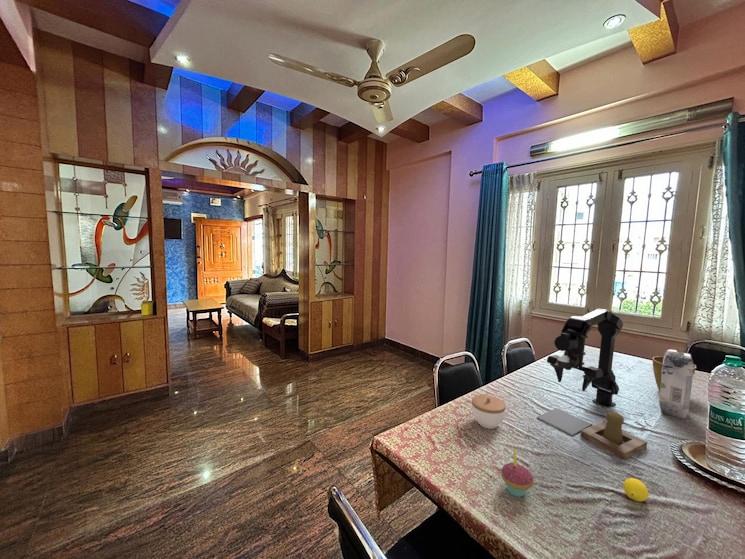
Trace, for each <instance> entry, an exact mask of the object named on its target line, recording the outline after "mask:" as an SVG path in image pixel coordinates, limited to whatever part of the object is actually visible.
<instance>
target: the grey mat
mask: <svg viewBox="0 0 745 559" xmlns="http://www.w3.org/2000/svg"><path fill="white" fill-rule="evenodd" d="M536 419H538V420H540V421H542V422H543V423H546V424H548V425H550V426H551V427H553V428H556V429H558V430H559V431H561V432H564V433H565V434H567V435H569V436H572V437H574V436H575V435H578V434H579V433H581V430H583V429H586V428H588V427H591V426H593V423H591V422H588V421H586V420H584V419H583V418H580V417H577V416H575V415H573V414H570V413H568V412H566V411H564V410H561V409H559V408H558V407H555V408H553V409H551V410H549V411H546V412H544V413H542V414H540V415H538V416H536Z"/></svg>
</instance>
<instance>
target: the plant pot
mask: <svg viewBox="0 0 745 559" xmlns="http://www.w3.org/2000/svg"><path fill="white" fill-rule="evenodd" d="M663 359H664V356H653V357H652V370H653V375H654V380H655V383H656V386H657V390H658V392H659V393H660V386H661V376H662V366H663ZM696 369H697V365H696V364H694V363H693V376H694V375H695V372H696Z"/></svg>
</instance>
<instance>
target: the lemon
mask: <svg viewBox="0 0 745 559" xmlns="http://www.w3.org/2000/svg"><path fill="white" fill-rule="evenodd" d="M622 488H623V491H624V493H625V494H626V495H627V497H628V498H629V499H632V500H634V501H635V502H643V501H646V500H647V499H648V497H649V496H650V495H649V490H648V488H647V486H646V484H645V483H644V482H642V481H640V480H639V479H637V478H634V477H630V478H626V480H624V481H623V485H622Z"/></svg>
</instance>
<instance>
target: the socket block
mask: <svg viewBox="0 0 745 559" xmlns="http://www.w3.org/2000/svg"><path fill="white" fill-rule="evenodd" d="M606 423H607V421H606V422H605V421H601V422H598V423H596V424H592V426H590V427H588V428H586V429H583V430H581V432H580V435H579V436H580V438H582V439H584V440H586V441H588V442H589V443H592V444H593V445H595V446H596V447H599V448H601V449H602V450H604V451H606V452H608V453H609V454H612V456H613V455H614V456H615V457H617V458H618V459H621V460H623V461H625V460H628V459H629V458H631V457H633V456H636V455H637V454H639V453H641V452H643V451H645V450H647V447H648V441H646V440H644V439H642V438H639V437H637V436H635V435H633V434H632V433H629V432H627V431H625V430H623V429H622V439H623V444H622V445H617V444H615V443H613V442H611V441H610V440H608V439H606V438H604V437H603V434H604V430H605V427H606Z"/></svg>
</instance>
